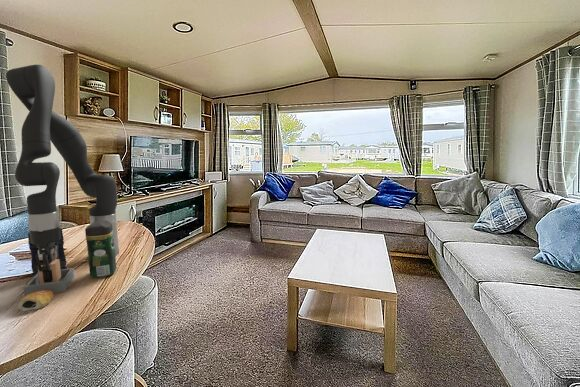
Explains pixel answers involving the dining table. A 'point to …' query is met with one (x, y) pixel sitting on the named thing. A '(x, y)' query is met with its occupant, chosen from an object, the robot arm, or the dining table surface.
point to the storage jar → (34, 251)
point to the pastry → (35, 300)
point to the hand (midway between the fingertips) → (50, 278)
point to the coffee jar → (100, 249)
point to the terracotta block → (55, 272)
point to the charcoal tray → (56, 287)
